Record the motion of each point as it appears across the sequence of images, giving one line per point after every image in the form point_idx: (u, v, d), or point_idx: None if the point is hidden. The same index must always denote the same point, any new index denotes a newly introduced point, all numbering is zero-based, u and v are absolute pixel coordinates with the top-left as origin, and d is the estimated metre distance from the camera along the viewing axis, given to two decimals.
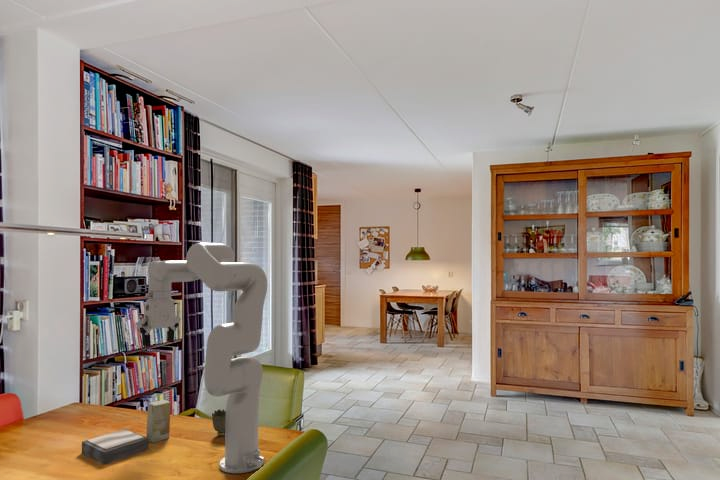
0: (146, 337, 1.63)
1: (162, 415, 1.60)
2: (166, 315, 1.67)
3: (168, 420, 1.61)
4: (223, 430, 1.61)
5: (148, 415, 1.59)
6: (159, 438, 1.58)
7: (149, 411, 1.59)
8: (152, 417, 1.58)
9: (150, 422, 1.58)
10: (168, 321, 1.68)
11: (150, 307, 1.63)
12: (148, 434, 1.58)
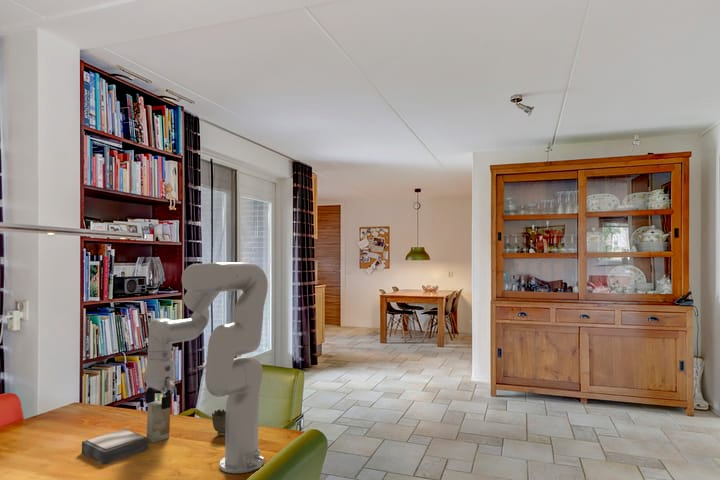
0: (169, 398, 1.59)
1: (162, 415, 1.60)
2: None
3: (168, 420, 1.61)
4: (223, 430, 1.61)
5: (148, 415, 1.59)
6: (159, 438, 1.58)
7: (149, 411, 1.59)
8: (152, 417, 1.58)
9: (150, 422, 1.58)
10: None
11: (171, 367, 1.60)
12: (148, 434, 1.58)
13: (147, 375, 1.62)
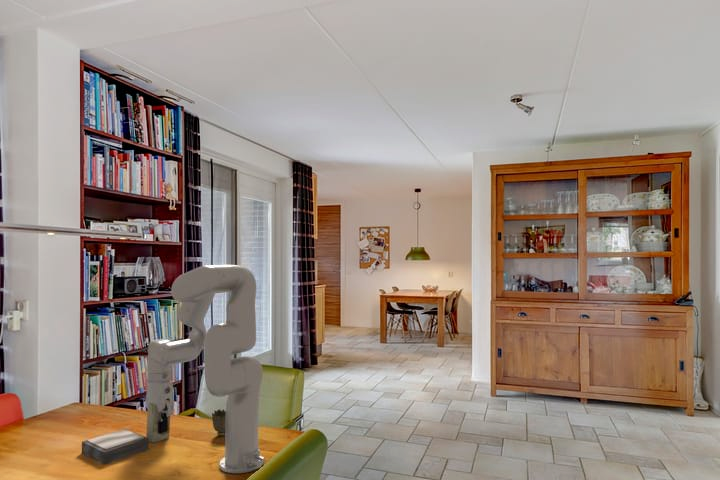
0: None
1: (162, 415, 1.60)
2: None
3: (168, 420, 1.61)
4: (223, 430, 1.61)
5: (148, 415, 1.59)
6: (159, 438, 1.58)
7: (150, 411, 1.59)
8: (152, 417, 1.58)
9: (150, 422, 1.58)
10: None
11: (171, 388, 1.60)
12: (148, 434, 1.58)
13: (147, 397, 1.61)
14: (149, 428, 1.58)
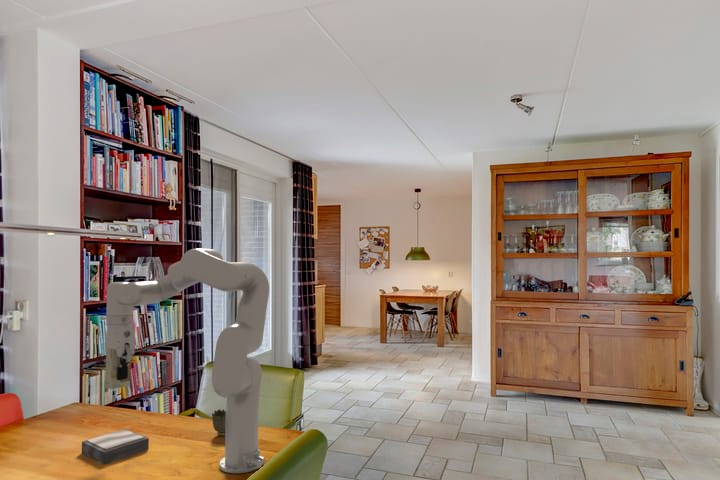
0: None
1: None
2: None
3: (129, 367, 1.52)
4: (223, 430, 1.61)
5: (106, 361, 1.50)
6: (118, 385, 1.49)
7: (108, 356, 1.49)
8: (111, 362, 1.48)
9: (109, 368, 1.48)
10: None
11: (131, 332, 1.50)
12: (107, 380, 1.49)
13: (106, 342, 1.51)
14: (107, 374, 1.49)
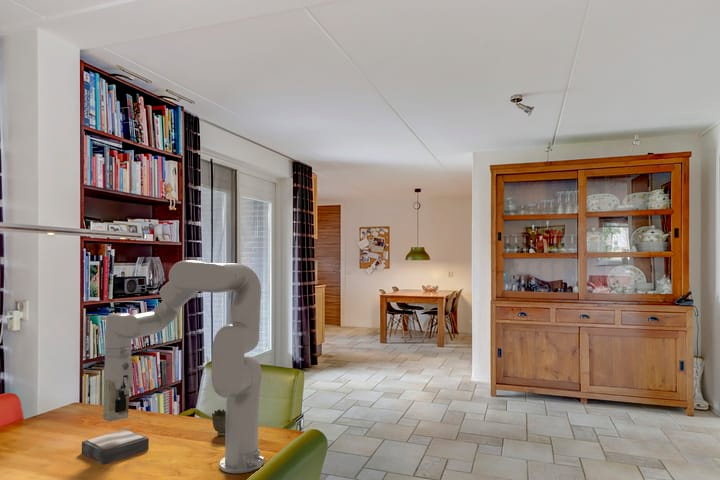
0: (124, 401, 1.49)
1: (120, 393, 1.49)
2: None
3: (127, 399, 1.51)
4: (223, 430, 1.61)
5: (105, 393, 1.49)
6: (116, 417, 1.48)
7: (106, 388, 1.49)
8: (109, 394, 1.47)
9: (107, 400, 1.48)
10: None
11: (130, 365, 1.50)
12: (105, 413, 1.48)
13: (105, 374, 1.51)
14: (106, 407, 1.48)
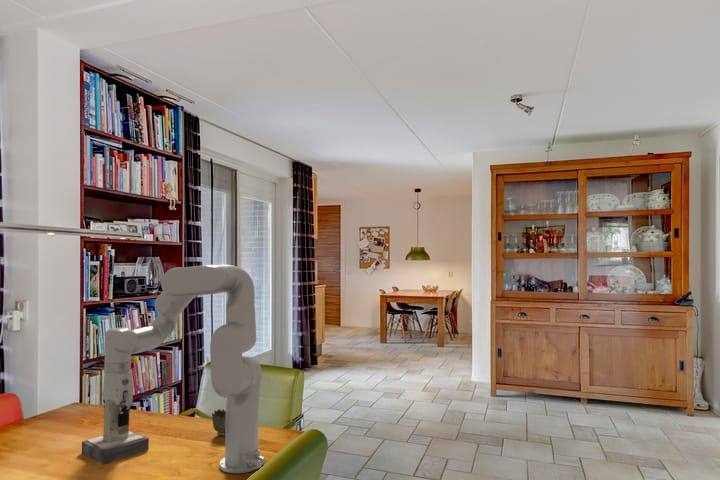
0: None
1: None
2: None
3: None
4: (223, 430, 1.61)
5: (105, 413, 1.49)
6: (117, 438, 1.48)
7: (106, 409, 1.48)
8: (109, 415, 1.47)
9: (107, 421, 1.47)
10: None
11: (130, 380, 1.49)
12: (105, 433, 1.48)
13: (104, 389, 1.51)
14: (106, 427, 1.48)
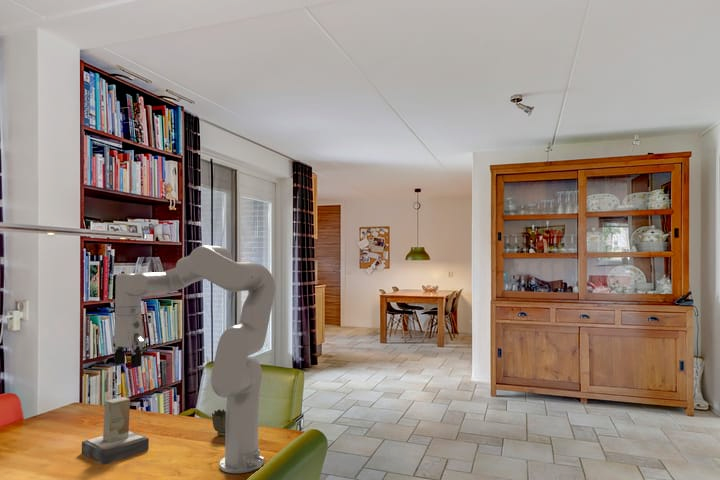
0: (139, 356, 1.50)
1: (120, 413, 1.49)
2: None
3: (127, 418, 1.51)
4: (223, 430, 1.61)
5: (105, 413, 1.49)
6: (117, 438, 1.48)
7: (107, 408, 1.48)
8: (109, 415, 1.47)
9: (107, 421, 1.47)
10: None
11: (140, 323, 1.51)
12: (105, 433, 1.48)
13: (115, 334, 1.52)
14: (106, 427, 1.48)
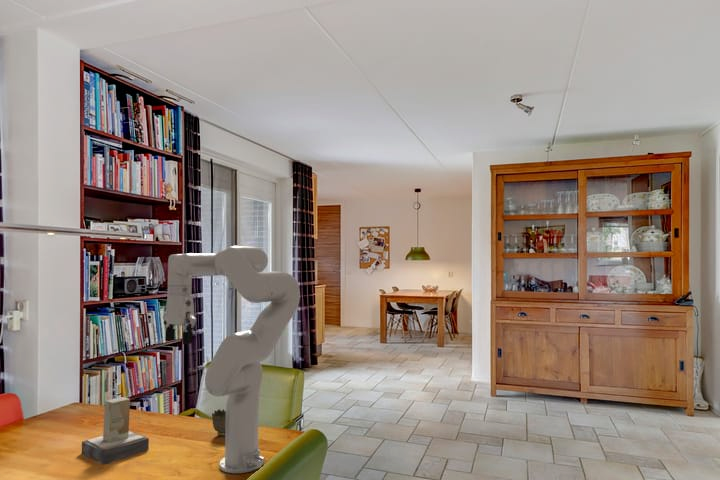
0: None
1: (120, 413, 1.49)
2: None
3: (127, 418, 1.51)
4: (223, 430, 1.61)
5: (105, 413, 1.49)
6: (117, 438, 1.48)
7: (107, 408, 1.48)
8: (109, 415, 1.47)
9: (107, 421, 1.47)
10: None
11: (192, 302, 1.57)
12: (105, 433, 1.48)
13: (167, 312, 1.58)
14: (106, 427, 1.48)
